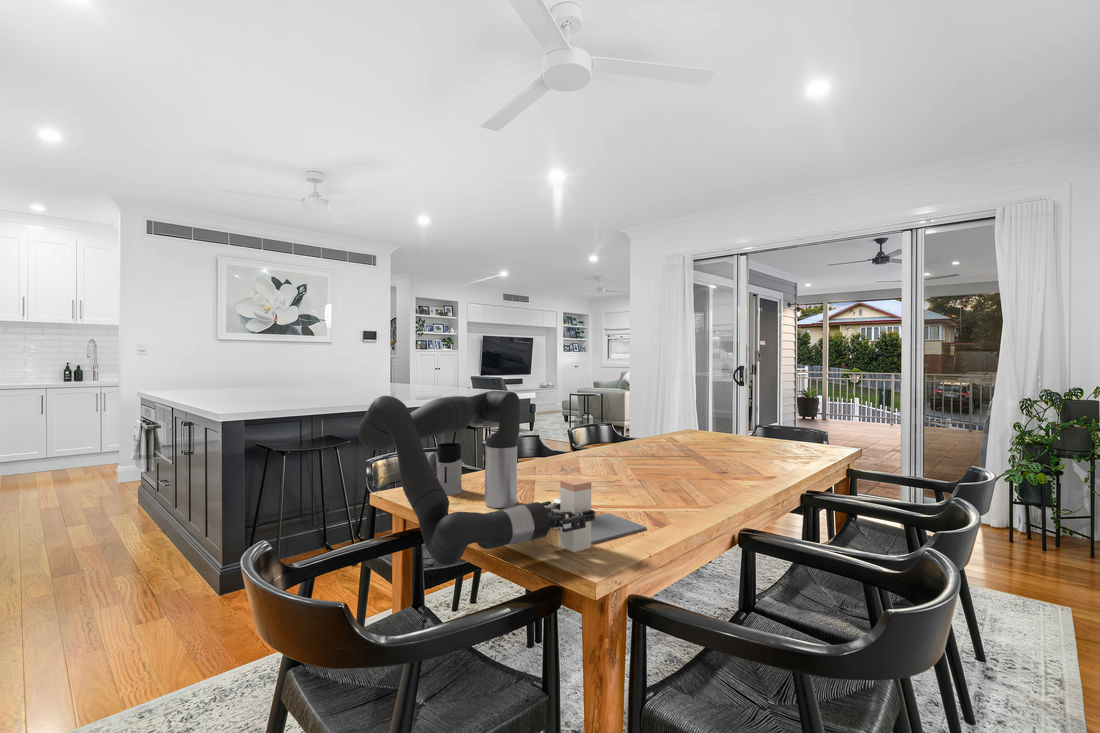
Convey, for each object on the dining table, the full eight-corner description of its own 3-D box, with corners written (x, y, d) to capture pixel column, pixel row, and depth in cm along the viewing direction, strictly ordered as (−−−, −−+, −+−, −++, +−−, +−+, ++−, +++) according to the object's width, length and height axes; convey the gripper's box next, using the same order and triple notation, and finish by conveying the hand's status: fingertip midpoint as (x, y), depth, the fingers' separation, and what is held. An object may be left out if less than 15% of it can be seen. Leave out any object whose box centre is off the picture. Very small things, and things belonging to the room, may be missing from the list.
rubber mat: (556, 527, 129) (556, 525, 129) (609, 515, 140) (609, 513, 140) (591, 544, 118) (591, 541, 118) (646, 529, 128) (646, 527, 128)
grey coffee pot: (468, 490, 166) (468, 444, 166) (438, 500, 154) (438, 450, 153) (447, 486, 170) (448, 441, 170) (417, 496, 158) (417, 448, 158)
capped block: (560, 545, 117) (560, 480, 117) (577, 541, 120) (577, 477, 120) (573, 552, 113) (573, 485, 113) (590, 547, 116) (591, 482, 116)
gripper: (505, 531, 114) (563, 518, 123) (541, 551, 102) (603, 535, 112) (505, 497, 114) (564, 487, 123) (541, 514, 102) (603, 501, 112)
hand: (582, 510), depth 118 cm, fingers open, 7 cm apart
